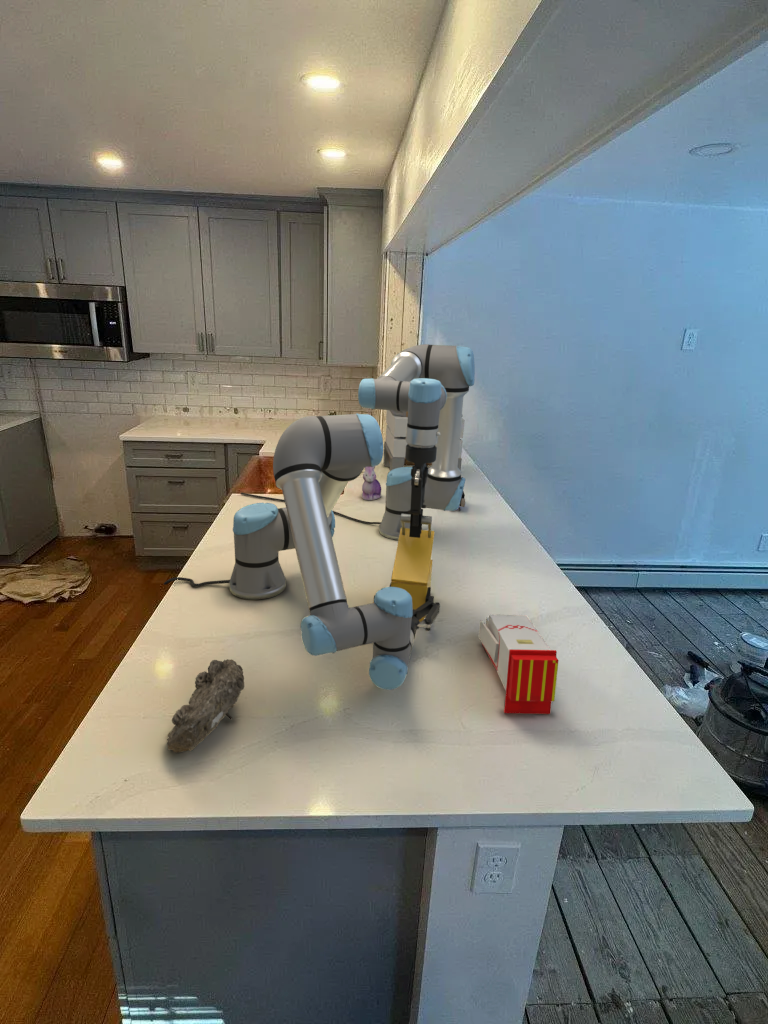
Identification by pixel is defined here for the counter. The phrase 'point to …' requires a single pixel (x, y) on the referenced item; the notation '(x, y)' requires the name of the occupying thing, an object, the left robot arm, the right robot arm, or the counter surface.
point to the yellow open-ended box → (416, 590)
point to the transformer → (403, 440)
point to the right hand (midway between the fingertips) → (415, 534)
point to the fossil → (206, 705)
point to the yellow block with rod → (413, 554)
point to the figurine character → (462, 501)
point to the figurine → (370, 485)
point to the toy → (521, 662)
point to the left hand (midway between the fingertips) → (410, 589)
